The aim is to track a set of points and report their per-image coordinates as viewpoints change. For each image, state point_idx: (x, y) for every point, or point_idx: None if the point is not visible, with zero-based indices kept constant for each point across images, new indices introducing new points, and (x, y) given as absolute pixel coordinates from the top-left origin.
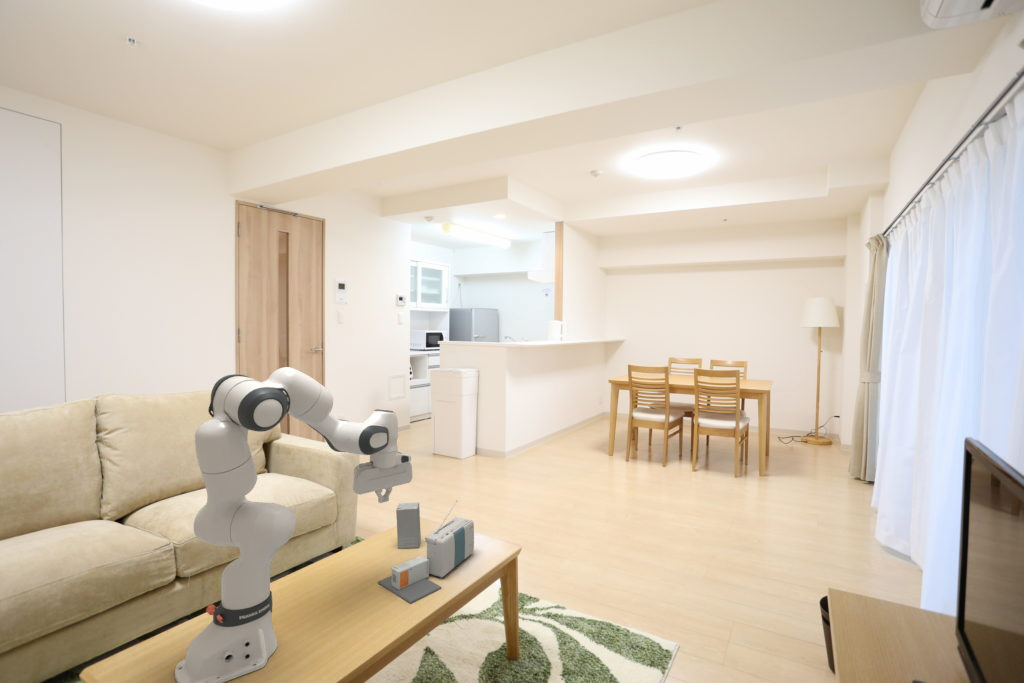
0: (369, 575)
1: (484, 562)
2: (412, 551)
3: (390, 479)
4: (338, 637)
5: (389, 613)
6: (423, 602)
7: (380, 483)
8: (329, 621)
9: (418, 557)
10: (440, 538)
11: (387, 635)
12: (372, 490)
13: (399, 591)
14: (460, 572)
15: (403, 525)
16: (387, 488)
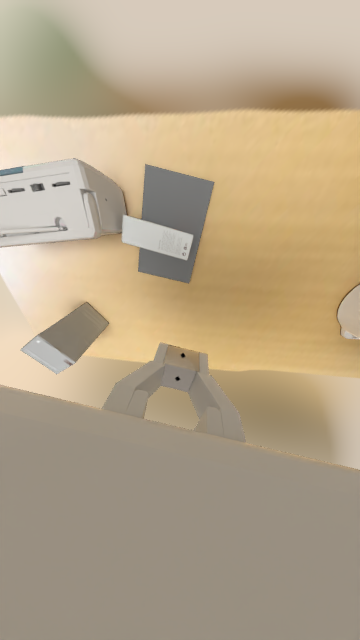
0: (178, 306)
1: (22, 152)
2: (99, 302)
3: (67, 594)
4: (332, 222)
5: (251, 197)
6: (199, 161)
7: (287, 574)
8: (294, 268)
9: (130, 242)
10: (68, 184)
11: (316, 137)
12: (355, 482)
13: (195, 230)
14: None
15: (83, 335)
16: (143, 417)
